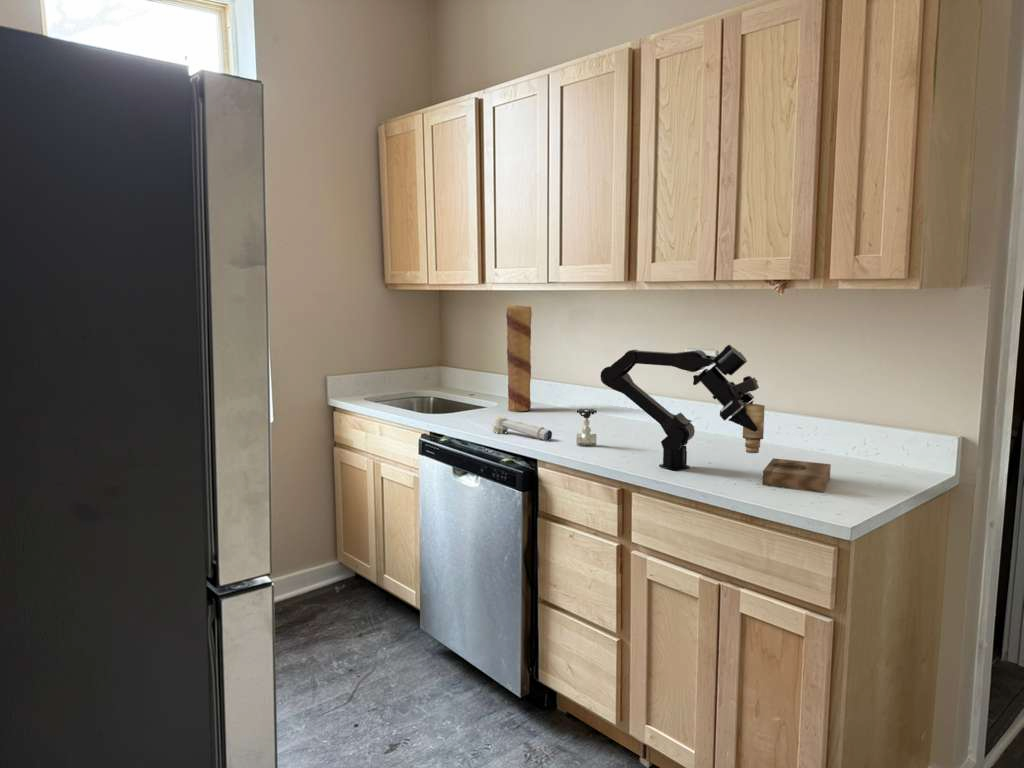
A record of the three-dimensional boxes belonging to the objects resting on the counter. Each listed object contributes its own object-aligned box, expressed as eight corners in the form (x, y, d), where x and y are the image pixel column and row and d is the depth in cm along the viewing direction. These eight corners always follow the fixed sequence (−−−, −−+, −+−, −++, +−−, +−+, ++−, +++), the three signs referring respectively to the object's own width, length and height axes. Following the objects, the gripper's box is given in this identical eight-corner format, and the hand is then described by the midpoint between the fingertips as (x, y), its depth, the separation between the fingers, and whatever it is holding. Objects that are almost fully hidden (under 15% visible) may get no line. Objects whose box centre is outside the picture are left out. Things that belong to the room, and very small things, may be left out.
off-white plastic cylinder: (544, 431, 246) (490, 413, 261) (542, 449, 247) (488, 431, 263) (554, 428, 250) (500, 411, 265) (551, 447, 251) (498, 429, 267)
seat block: (762, 485, 191) (763, 470, 190) (772, 472, 205) (773, 458, 204) (823, 492, 184) (824, 477, 183) (829, 478, 197) (830, 464, 197)
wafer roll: (510, 407, 318) (509, 305, 312) (533, 408, 315) (533, 305, 310) (503, 411, 308) (503, 305, 302) (527, 412, 305) (527, 305, 300)
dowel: (754, 455, 195) (756, 407, 193) (737, 451, 200) (739, 405, 198) (766, 452, 198) (769, 405, 196) (750, 449, 203) (752, 403, 201)
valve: (576, 443, 244) (576, 408, 243) (596, 443, 243) (596, 408, 242) (576, 447, 238) (576, 411, 236) (596, 447, 237) (596, 411, 235)
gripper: (733, 370, 190) (775, 415, 186) (747, 364, 206) (786, 405, 202) (702, 398, 194) (743, 442, 191) (718, 389, 211) (756, 430, 207)
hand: (758, 428), depth 197 cm, fingers closed on dowel, 5 cm apart
